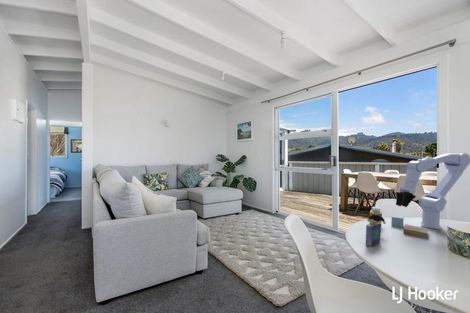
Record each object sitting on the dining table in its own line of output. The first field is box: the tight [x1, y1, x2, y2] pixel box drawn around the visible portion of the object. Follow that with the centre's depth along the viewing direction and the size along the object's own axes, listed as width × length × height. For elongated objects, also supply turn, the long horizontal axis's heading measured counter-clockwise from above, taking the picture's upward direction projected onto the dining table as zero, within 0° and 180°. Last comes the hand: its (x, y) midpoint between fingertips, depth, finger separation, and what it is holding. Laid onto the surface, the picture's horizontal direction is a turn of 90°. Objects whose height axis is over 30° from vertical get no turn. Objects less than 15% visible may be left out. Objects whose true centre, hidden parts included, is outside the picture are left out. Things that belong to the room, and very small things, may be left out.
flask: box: [365, 219, 382, 247], centre depth 100 cm, size 9×3×11 cm, turn 121°
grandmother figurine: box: [367, 208, 386, 225], centre depth 113 cm, size 8×4×13 cm, turn 68°
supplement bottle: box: [368, 206, 383, 225], centre depth 124 cm, size 6×6×10 cm
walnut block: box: [402, 223, 428, 239], centre depth 114 cm, size 9×9×3 cm
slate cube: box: [391, 214, 405, 229], centre depth 126 cm, size 5×5×5 cm
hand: (400, 206), depth 122 cm, fingers open, 7 cm apart
